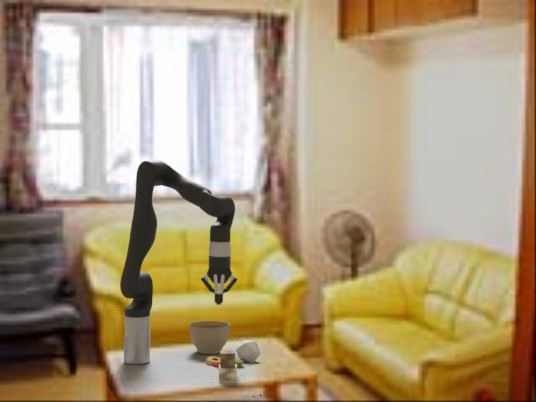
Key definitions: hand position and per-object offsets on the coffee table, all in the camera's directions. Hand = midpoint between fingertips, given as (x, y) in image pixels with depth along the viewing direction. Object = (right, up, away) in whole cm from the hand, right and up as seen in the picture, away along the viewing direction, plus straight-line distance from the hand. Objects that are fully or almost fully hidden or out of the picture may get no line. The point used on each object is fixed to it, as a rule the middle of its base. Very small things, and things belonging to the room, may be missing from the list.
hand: (218, 304), depth 293 cm
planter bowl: (-6, -23, +38) cm, 45 cm away
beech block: (+3, -25, -4) cm, 25 cm away
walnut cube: (+3, -21, -5) cm, 21 cm away
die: (+10, -24, +23) cm, 35 cm away
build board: (+3, -26, -4) cm, 26 cm away
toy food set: (+2, -25, +15) cm, 29 cm away
